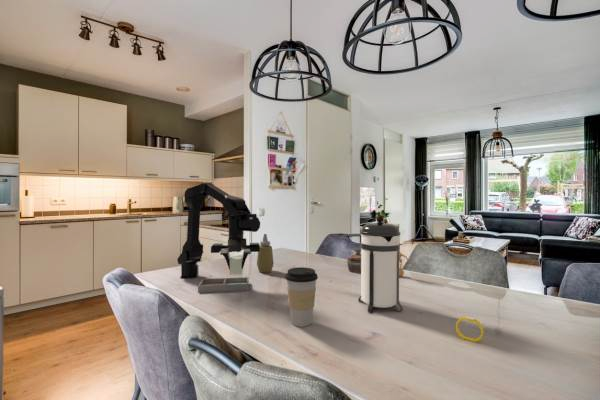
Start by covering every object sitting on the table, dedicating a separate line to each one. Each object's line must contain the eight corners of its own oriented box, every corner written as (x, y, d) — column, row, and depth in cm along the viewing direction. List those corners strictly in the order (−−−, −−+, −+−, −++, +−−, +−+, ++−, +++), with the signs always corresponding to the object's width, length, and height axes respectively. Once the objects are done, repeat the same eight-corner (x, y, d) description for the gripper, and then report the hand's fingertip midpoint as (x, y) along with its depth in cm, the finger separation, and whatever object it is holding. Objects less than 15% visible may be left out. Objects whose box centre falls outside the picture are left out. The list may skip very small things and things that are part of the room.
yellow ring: (482, 341, 76) (484, 318, 76) (481, 346, 74) (483, 322, 74) (456, 333, 80) (458, 311, 79) (454, 337, 78) (456, 315, 77)
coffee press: (412, 305, 101) (413, 215, 100) (390, 319, 89) (390, 218, 88) (366, 293, 112) (366, 213, 112) (341, 304, 101) (342, 215, 100)
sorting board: (198, 292, 113) (198, 285, 113) (202, 285, 123) (202, 278, 122) (247, 290, 116) (247, 283, 116) (248, 283, 125) (248, 277, 125)
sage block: (229, 274, 117) (229, 259, 117) (230, 271, 122) (230, 256, 121) (241, 274, 118) (241, 259, 118) (242, 271, 122) (242, 256, 122)
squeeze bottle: (272, 273, 140) (272, 235, 140) (255, 273, 140) (255, 235, 140) (274, 269, 148) (274, 232, 148) (258, 269, 148) (258, 232, 148)
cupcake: (344, 268, 150) (344, 248, 149) (363, 268, 151) (363, 248, 150) (350, 273, 140) (350, 252, 140) (370, 273, 141) (370, 252, 141)
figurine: (409, 276, 136) (409, 249, 135) (408, 279, 130) (408, 252, 130) (389, 274, 139) (390, 248, 139) (388, 277, 133) (388, 250, 133)
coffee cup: (307, 332, 80) (307, 276, 80) (278, 324, 85) (278, 271, 85) (323, 320, 88) (323, 269, 88) (296, 313, 93) (296, 265, 93)
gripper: (208, 233, 110) (208, 275, 110) (259, 232, 113) (259, 273, 113) (212, 229, 121) (213, 268, 121) (259, 228, 124) (259, 266, 124)
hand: (236, 269), depth 120 cm, fingers closed on sage block, 4 cm apart
